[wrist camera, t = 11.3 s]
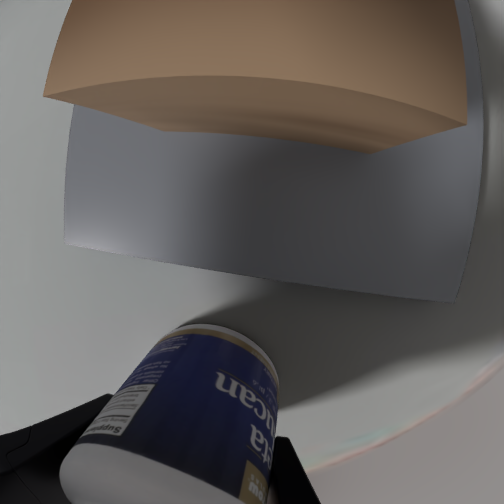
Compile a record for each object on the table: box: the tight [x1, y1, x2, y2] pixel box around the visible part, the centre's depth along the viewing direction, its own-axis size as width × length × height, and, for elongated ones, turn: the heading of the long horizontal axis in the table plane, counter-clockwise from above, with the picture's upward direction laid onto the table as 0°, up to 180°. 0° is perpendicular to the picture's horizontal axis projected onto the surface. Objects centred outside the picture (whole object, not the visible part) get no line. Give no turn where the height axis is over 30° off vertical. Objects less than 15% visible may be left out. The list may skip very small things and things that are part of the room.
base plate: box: [64, 0, 483, 303], centre depth 8 cm, size 14×14×1 cm
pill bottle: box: [59, 324, 279, 504], centre depth 6 cm, size 5×5×10 cm
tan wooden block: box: [43, 0, 467, 154], centre depth 5 cm, size 6×6×5 cm
